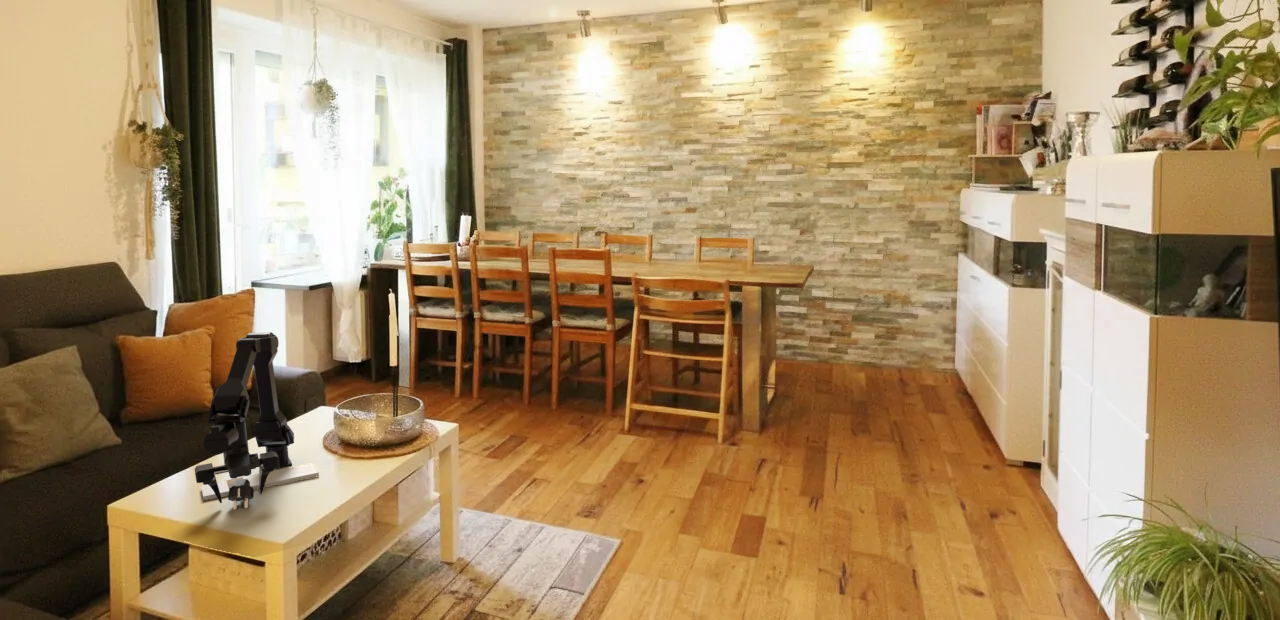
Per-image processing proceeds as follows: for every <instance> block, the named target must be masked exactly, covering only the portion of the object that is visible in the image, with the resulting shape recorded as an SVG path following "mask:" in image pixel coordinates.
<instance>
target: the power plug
mask: <svg viewBox="0 0 1280 620" xmlns="http://www.w3.org/2000/svg"><path fill="white" fill-rule="evenodd" d="M235 482H236V483H235V485H234V486H232V487H231V488H229V492H228V496H227V497H228V498H227V500H228V501H232V502H233V503H232V505H233V508H232V509H233V511H237V509H238V507H237V506H238V502H244V506H243V507H244V509H245V510H246V509H248V508H249V501H250V500H253V499H254V498H255V497H254V495H255V494H254V492H255V490H253V488H252V487H251V486H250V482H249V481H248V479H241V480H235Z"/></svg>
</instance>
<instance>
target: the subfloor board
mask: <svg viewBox="0 0 1280 620" xmlns="http://www.w3.org/2000/svg"><path fill="white" fill-rule="evenodd" d="M319 474H320V473H319V471H318V469H317V468H316V466H315V465H314V463H313V462H311V463H305V464H302V465H296V466H292V467H287V468H282V469H276V470H274V471H271V472H270V473H269V474H268V476H267V479H266V482H265V486H264V489H266V488H265V487H267V488H271V486H272V487H276V486H275V485H277V486H280V484H281V485H286V484H290V483H289V482H291V483H294V482H293V481H296V482H299V481H298V480H300V481H303V480H302V479H305V480H309V479H308V478H310V479H313V478H312V477H315V478H317V477H316V476H320V475H319ZM241 479H248V481H249V482H250V486H251V487H252V488H253V490H254V491H257V490H260V489H259V473H257V474H252V475H251V474H250V475H249V476H241V477H237V478H234V479H232V478H230V479H226V480H222V481H217V484H218V488H219V491H220V494H221V498H224V497H228V492H229V488H231V487H232V486H234V485H235V483H236V482H235V480H241ZM285 483H286V484H285ZM200 487H201V489H200V490H201V495H202V499H203V501H204V500H206V501H209V500H208V499H210V500H214V498H215V499H218V498H217V496H216V495H215V493H214V491H213V490H212V488H211V487H210V486H209V485H208V484H207V485H203V484H202V485H200Z"/></svg>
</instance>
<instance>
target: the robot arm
mask: <svg viewBox="0 0 1280 620" xmlns="http://www.w3.org/2000/svg"><path fill="white" fill-rule="evenodd" d="M278 348H279V338H278V336H277V335H276V334H274V333H273V332H270V331H269V332H249V333H247V334H246V336H244V337H240V338H238V339H237V341H236V343H235V353H234V356H233V358H232V359H233V360H232V363H231V365H230V369H229V372H228V375H227V378H226V379H225V382H224V383H222V384H221V385H220V386H219V387H217V390H216V392H215V394H214V396H213V398H212V399H211V404H210V408H209V413H208V414H209V415H208V418H207V424H208V425H212V426H211V427H210V431H209V433H208V434H206V435H205V437H204V439H203V442H202V444H203V448H204V449H205V450H206V452H208V453H210V454H212V455H221V454H222V455H223V464H221V465H217V466H213V463H212V462H211V463H210V462H209V463H205V464H200V465H199V464H198V465H196V466H195V467H194V476H195V481H196V483H197V484H202V485H207V484H208V485H209V486H210V487H211V488H212V490H213V491H214V493H215V495H216V496H217V498H216V499H217V500H218V502H219V503H220V504H223V500H222V498H223V497H221V494H220V491H219V488H218V484H217V482H218V481H217V478H216V475H219V474H220V475H221V474H225V473H228V475H229V478H230V479H235V478H240V477H246V476H251V474H252V470H256V469H257V468H258V469H259V470H258V472H259V473H258V474H259V489H258V490H259V494H260V495H263V493H264V489H265V488H264V486H265V482H266V479H267V476H268V474H269V473H270V472H271V471H275V469H278V468H284V467H289V466H292V465H293V462H292V461H291V458H290V456H289V446H291V445H293V444H295V433H294V431H293V430H292V429H291V427H290V425H288V422H287V417H286V416H285V414H283V413H282V412H281V410H280V409H279V402H278V394H277V387H276V386H277V385H276V379H275V378H276V377H275V371H274V362H273V361H274V359H275V358H276V356H277V354H278V353H279V350H278ZM253 369H254V375H255V382H256V383H255V384H256V389H257V397H258V398H257V399H258V404H259V417H258V419H257V421H256V422H255V424H254V437H255V441H256V443H257V448H264V447H265V452H262V453H258V452H256V453H250V452H249V442H248V441H249V440H248V432H247V425H246V424H247V423H246V418H247V415H248V412H249V408H250V404H251V401H250V396H249V395H250V394H248V391H247V387H248V383H249V379H250V375H251V374H252V373H251V372H252V370H253ZM217 415H218V416H217ZM258 454H259V455H258Z"/></svg>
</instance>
